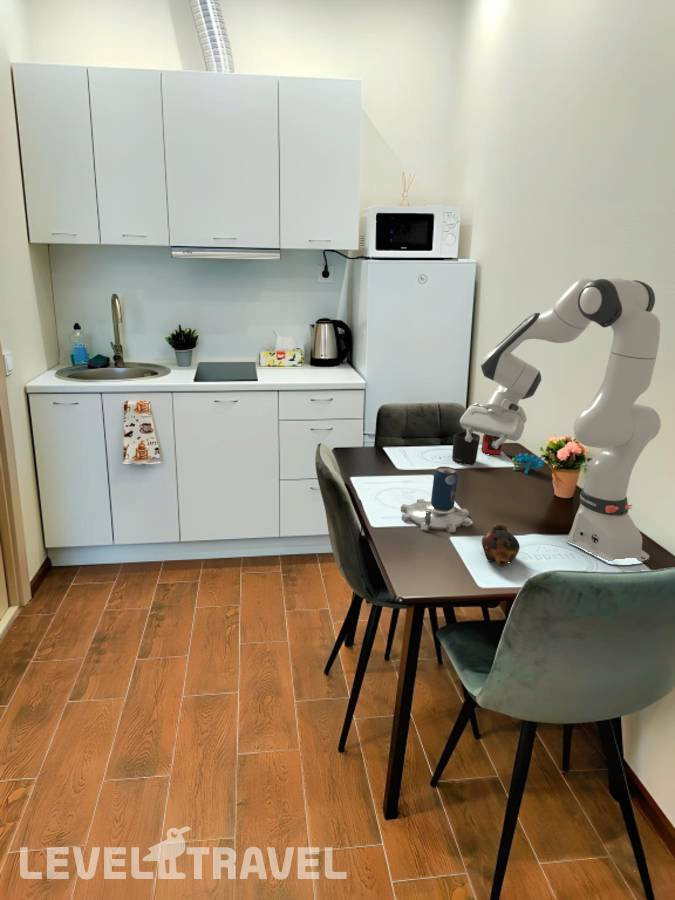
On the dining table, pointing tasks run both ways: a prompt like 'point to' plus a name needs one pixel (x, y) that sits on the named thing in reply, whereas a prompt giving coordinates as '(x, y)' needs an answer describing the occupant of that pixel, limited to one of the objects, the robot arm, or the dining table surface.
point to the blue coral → (527, 462)
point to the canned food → (490, 445)
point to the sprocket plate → (434, 516)
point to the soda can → (444, 488)
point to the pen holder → (465, 448)
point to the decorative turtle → (500, 545)
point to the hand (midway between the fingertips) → (480, 444)
